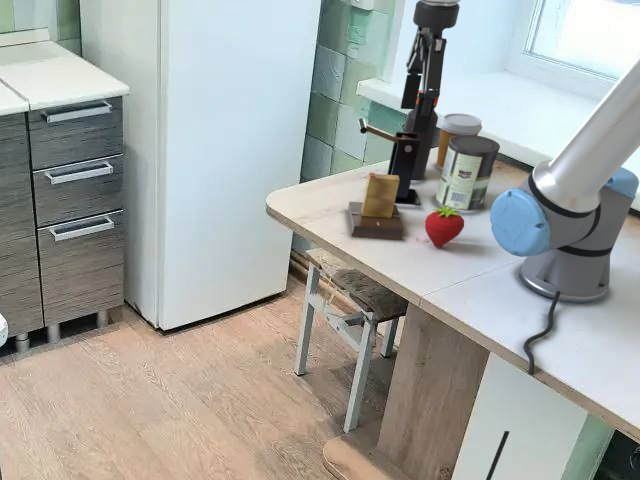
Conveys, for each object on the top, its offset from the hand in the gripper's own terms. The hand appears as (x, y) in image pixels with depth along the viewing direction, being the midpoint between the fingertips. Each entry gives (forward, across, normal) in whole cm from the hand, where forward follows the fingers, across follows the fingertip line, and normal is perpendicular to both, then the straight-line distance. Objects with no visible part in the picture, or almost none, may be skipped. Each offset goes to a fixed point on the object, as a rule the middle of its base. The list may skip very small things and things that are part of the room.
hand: (413, 119), depth 156 cm
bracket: (+23, -14, +3) cm, 27 cm away
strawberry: (+23, +8, +8) cm, 26 cm away
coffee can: (+23, -14, +17) cm, 32 cm away
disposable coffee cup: (+23, -35, +19) cm, 46 cm away
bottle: (+23, -27, +8) cm, 36 cm away
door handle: (+9, -14, -2) cm, 17 cm away
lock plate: (+23, 0, -3) cm, 23 cm away
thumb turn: (+20, 0, -3) cm, 21 cm away
